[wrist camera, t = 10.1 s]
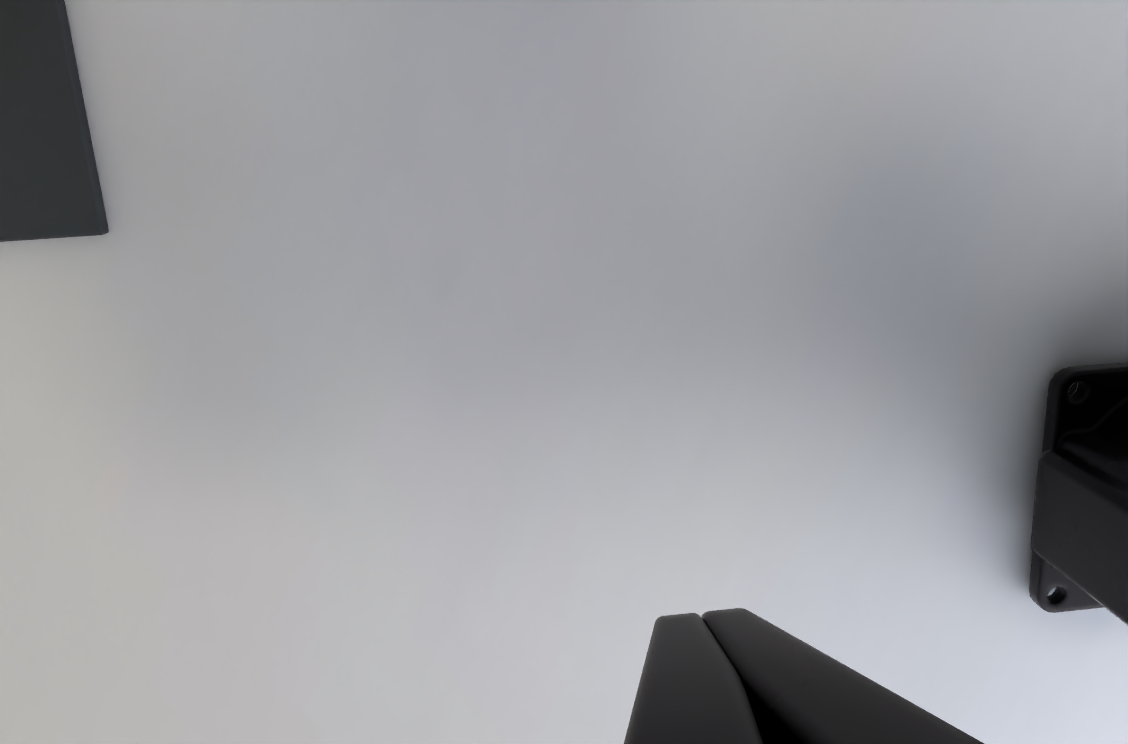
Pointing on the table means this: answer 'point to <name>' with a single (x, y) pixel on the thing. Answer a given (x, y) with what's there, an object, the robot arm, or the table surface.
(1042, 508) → the robot arm
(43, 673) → the table surface
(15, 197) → the mat
